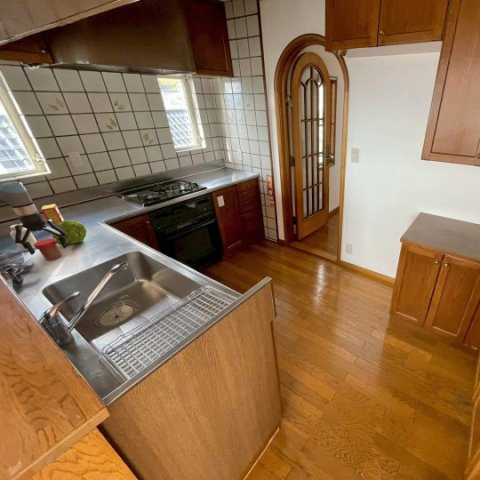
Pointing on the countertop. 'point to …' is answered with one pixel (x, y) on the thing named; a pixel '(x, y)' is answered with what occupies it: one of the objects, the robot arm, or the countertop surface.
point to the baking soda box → (52, 213)
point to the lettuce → (71, 232)
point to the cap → (45, 243)
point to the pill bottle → (30, 238)
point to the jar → (51, 253)
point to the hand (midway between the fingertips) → (49, 250)
